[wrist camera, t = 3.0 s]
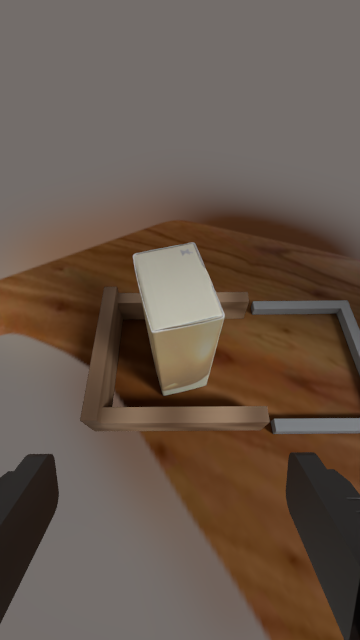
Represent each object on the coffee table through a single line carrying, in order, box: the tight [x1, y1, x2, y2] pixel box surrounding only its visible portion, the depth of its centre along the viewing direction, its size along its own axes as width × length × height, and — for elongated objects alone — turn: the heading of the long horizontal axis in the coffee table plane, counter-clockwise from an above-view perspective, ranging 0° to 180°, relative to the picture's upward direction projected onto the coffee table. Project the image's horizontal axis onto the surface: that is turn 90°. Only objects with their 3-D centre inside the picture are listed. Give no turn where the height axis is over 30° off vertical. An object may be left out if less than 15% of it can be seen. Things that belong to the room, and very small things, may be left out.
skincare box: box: [133, 243, 225, 396], centre depth 22 cm, size 6×4×12 cm
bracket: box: [251, 300, 360, 434], centre depth 26 cm, size 10×13×1 cm
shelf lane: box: [80, 287, 270, 431], centre depth 25 cm, size 14×12×4 cm
